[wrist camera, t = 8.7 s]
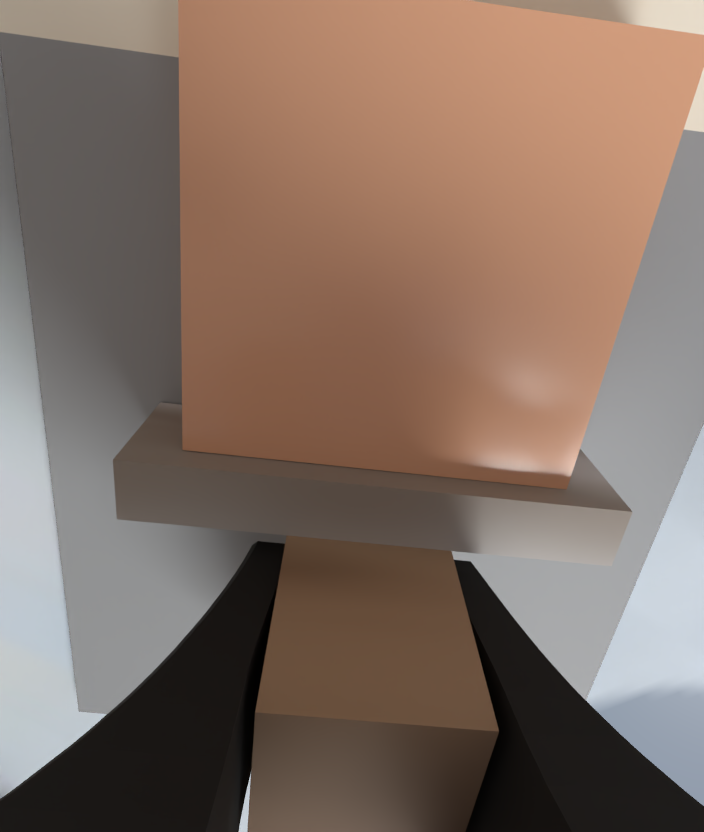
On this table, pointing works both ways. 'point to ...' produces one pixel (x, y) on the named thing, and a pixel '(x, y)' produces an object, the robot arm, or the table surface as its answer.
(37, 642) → the table surface
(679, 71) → the terracotta tile
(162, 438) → the pusher
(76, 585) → the board
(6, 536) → the table surface
